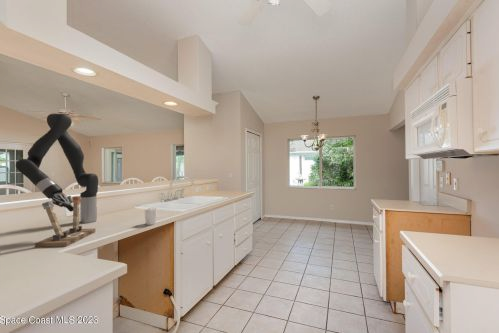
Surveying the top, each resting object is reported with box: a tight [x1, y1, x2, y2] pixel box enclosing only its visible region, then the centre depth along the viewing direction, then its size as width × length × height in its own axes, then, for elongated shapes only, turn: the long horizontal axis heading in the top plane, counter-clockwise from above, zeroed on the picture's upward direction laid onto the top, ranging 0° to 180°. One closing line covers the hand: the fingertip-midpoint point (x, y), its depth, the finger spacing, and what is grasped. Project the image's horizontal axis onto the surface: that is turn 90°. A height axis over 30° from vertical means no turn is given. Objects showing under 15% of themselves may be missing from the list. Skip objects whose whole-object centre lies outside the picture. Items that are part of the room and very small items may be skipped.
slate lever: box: [41, 200, 64, 237], centre depth 115 cm, size 3×3×19 cm
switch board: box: [34, 225, 96, 248], centre depth 121 cm, size 24×14×4 cm, turn 6°
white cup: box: [144, 207, 158, 226], centre depth 153 cm, size 8×8×10 cm
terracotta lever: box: [71, 195, 81, 230], centre depth 127 cm, size 3×3×19 cm
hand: (73, 210), depth 127 cm, fingers closed
